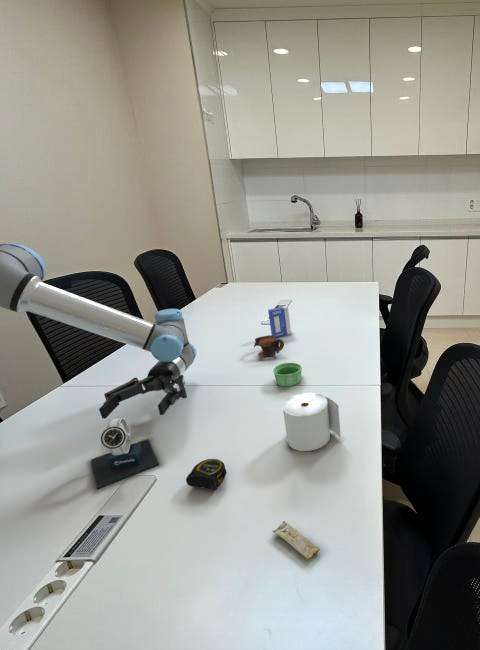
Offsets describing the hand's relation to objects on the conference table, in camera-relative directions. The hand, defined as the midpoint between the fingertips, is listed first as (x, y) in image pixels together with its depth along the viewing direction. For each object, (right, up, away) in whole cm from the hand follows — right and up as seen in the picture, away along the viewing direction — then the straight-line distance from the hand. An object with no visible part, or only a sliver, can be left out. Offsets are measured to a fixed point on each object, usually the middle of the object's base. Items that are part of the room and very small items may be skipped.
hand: (131, 412), depth 93 cm
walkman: (+20, +21, +69) cm, 75 cm away
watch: (+2, -11, -4) cm, 12 cm away
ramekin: (+31, +5, +31) cm, 45 cm away
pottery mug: (+20, +14, +51) cm, 57 cm away
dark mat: (+1, -11, -4) cm, 12 cm away
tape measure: (+24, -14, -11) cm, 29 cm away
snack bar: (+45, -19, -25) cm, 55 cm away
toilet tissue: (+43, -7, +3) cm, 44 cm away
